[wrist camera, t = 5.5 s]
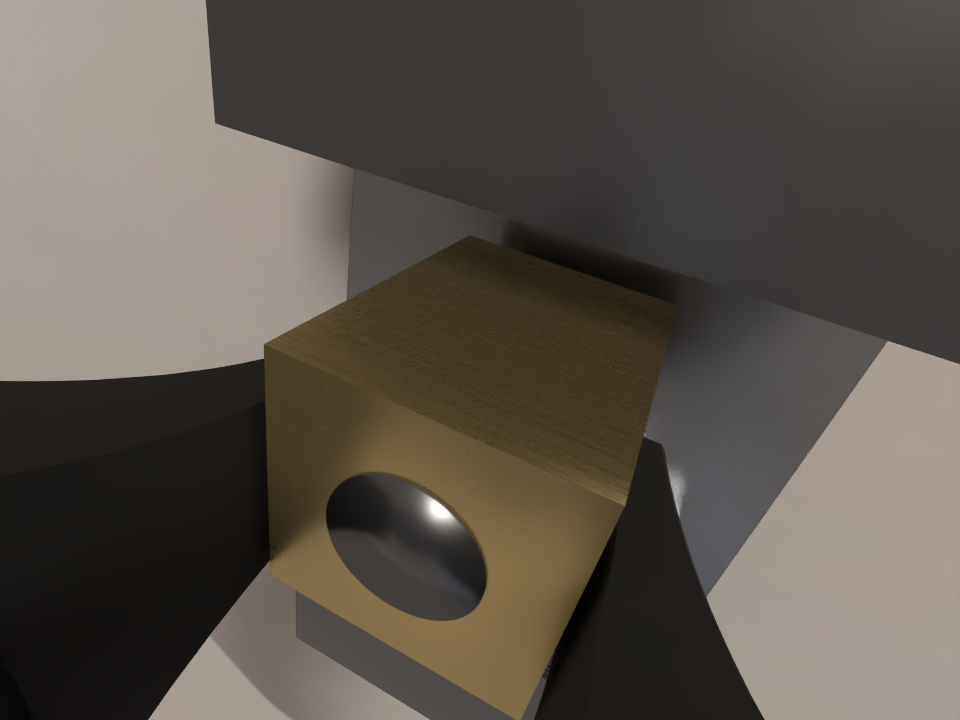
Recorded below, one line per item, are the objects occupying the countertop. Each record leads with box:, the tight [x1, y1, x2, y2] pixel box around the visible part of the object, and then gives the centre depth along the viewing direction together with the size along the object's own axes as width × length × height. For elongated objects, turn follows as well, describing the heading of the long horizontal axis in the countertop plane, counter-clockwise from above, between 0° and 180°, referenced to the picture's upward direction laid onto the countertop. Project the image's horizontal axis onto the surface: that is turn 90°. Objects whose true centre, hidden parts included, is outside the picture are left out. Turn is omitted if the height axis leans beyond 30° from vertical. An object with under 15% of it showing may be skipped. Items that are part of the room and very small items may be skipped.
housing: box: [264, 235, 678, 720], centre depth 9 cm, size 4×4×6 cm
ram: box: [296, 591, 554, 720], centre depth 14 cm, size 4×7×5 cm, turn 78°
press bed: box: [206, 0, 960, 597], centre depth 12 cm, size 20×12×6 cm, turn 168°
